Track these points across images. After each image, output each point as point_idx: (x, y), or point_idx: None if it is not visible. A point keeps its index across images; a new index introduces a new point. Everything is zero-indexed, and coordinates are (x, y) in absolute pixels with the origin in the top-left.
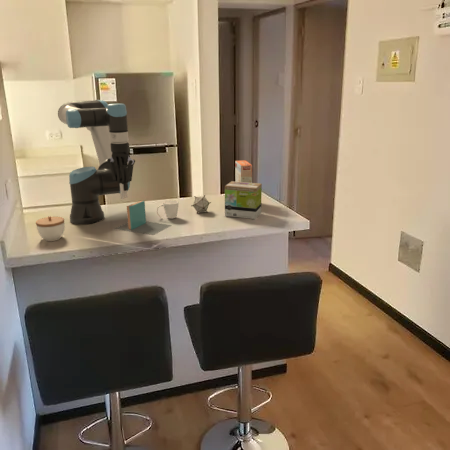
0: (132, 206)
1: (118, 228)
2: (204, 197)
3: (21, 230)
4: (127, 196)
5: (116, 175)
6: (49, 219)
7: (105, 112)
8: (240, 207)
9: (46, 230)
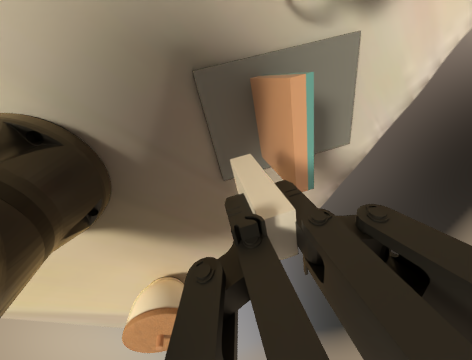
0: (312, 174)
1: (232, 172)
2: None
3: (47, 319)
4: (251, 156)
5: (189, 341)
6: (163, 339)
7: None
8: None
9: None
